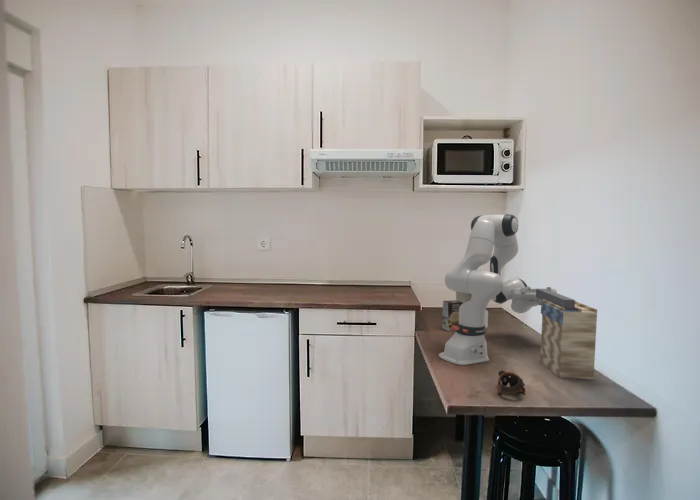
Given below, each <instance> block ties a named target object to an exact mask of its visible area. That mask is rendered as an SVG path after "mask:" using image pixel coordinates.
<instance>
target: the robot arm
mask: <svg viewBox="0 0 700 500" xmlns="http://www.w3.org/2000/svg"><path fill="white" fill-rule="evenodd" d="M470 230H471V232H470V235H469V238H468V239H469V240H468V242H467V247H466V250H465V253H464V255H463V258H462V259H461V261H460V262H459V263H458V264H457V265H455V266H454V267H453V268H451V269H449V270H448V271H447V272H446V274H445V276H444V283H445V286H446V288H447V289H448V290H450V291H452V292H455V293H456V292H460V293H468V294H472V297H471V300H470V301H467V302H465V303H463V304H462V305H461V306H460V308H459V323H458V325H457V326H455V325H453V326H452V329H453V330H455V332H454V333H453V335H452V336H451V337H450V338H449V339H448V340H447V341H446V343H445V345H444V351H442V352H440V353H438V357H439V358H440V359H442V360H444V361H446V362H448V363H451V364H454V365H460V366H467V365H472V364H478V363H484V362H489V361H490V358H489V356H488V347H487V346H488V345H487V340H486V337H485V334H486V329H487V328H485V325H484V321H485V311H486V310H487V306H488V304H489V303H490V301H491V300H492V301H493V302H494V303H496V304H500V305H501V304H504V303H506V302H508V301H510V300H511V304H510V308H511V310H512V311H513V312H515V313H516V314H517V313H518V314H525V313H527V312H528V311H530V310H531V309H532V308H533V307H537V306H541V302H543V300H541V299H539V298H536V289H537V288H534V287H533V288H531V286H528V284H527V283H526V282H525V280H522V279H521V278H519V277H513V278H511V279H510V278H509V279H507V280H505V281H503V278H502V274H501V272H502V269H503V268H504V267H505V266H506V265H507V264H508V263H509V262H511V261H512V260H513V259H514V258H516V256H517V254H518V253H519V243H518V238H517V235H516V233H517V232H518V231H519V221H518V219H517V217H516V216H515V215H514V214H509V213H506V214H495V213H493V214H485V215H477V216H475V217H474V218H473V219H472V221H471V223H470ZM487 263H489V270H481V269H479V268H480V267H481V266H484V265H486V264H487ZM546 289H547V290H550V291H552V292H555V293H558V292H557V289H555V288H552V286H547V287H546Z"/></svg>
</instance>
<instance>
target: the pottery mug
mask: <svg viewBox="0 0 700 500" xmlns="http://www.w3.org/2000/svg"><path fill="white" fill-rule="evenodd" d="M497 374H498V379H497V393H498V392H499V393H501V394H504V395H513V394H514V395H515V394H517V393H524V392H525V393H526V387H525V386H526V384H525V383H524V380H523V379H522V378H521V377H520V376H519V375H518V374H517V373H515V372H512V371H507V372H506V371H505V370H500V371H498V373H497ZM508 385H509V386H508ZM523 391H524V392H523ZM499 393H498V394H499Z"/></svg>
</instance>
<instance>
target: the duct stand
mask: <svg viewBox="0 0 700 500" xmlns="http://www.w3.org/2000/svg"><path fill="white" fill-rule="evenodd" d="M540 314H541V338H540V355H539V356H540V358H539V359H540V360H539V361H540V362H541V363H542V364H543V365H544V366H546V367H547V368H548V369H549V370H550V371H552V372H553V373H554V374H556V376H558V378H561V379H576V378H586V379H585V380H594V377H595V360H596V359H595V358H596V357H595V356H596V342H597V341H596V340H597V321H598V309H596V308H594V307H592V306H589V305H587V304H585V303H582V302H578V301H577V300H575V310H565V308H563V307H560V306H558V305H556V304H554V303H551V302H549V301H547V300H545V299H543V302H541V305H540Z"/></svg>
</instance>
